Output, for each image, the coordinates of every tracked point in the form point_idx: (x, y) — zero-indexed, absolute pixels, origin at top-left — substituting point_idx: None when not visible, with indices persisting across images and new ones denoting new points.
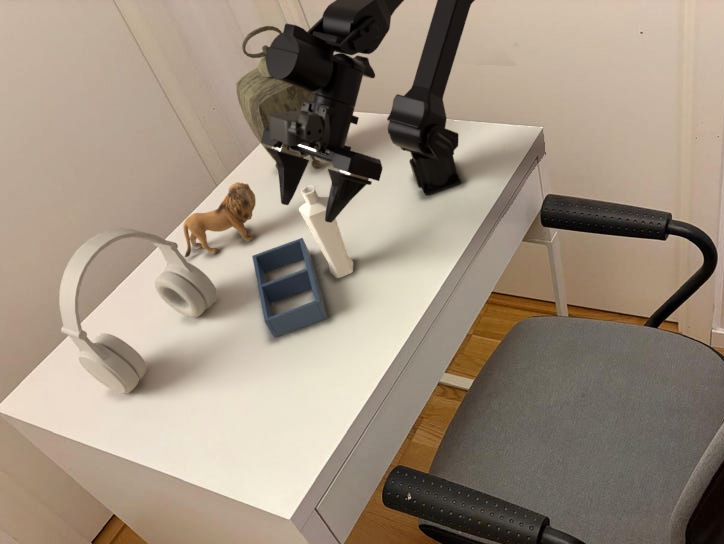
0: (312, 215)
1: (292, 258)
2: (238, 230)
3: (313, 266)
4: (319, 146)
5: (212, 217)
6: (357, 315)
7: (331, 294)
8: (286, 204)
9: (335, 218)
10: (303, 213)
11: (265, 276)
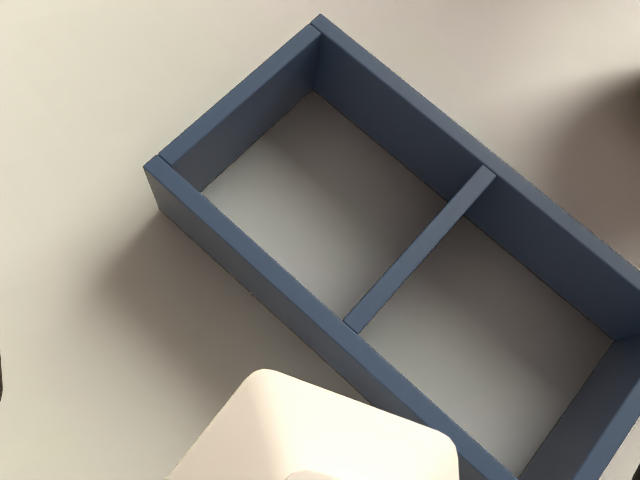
0: (230, 399)
1: (550, 447)
2: None
3: None
4: None
5: None
6: (36, 261)
7: (228, 329)
8: (638, 469)
9: None
10: (355, 401)
11: (590, 317)
